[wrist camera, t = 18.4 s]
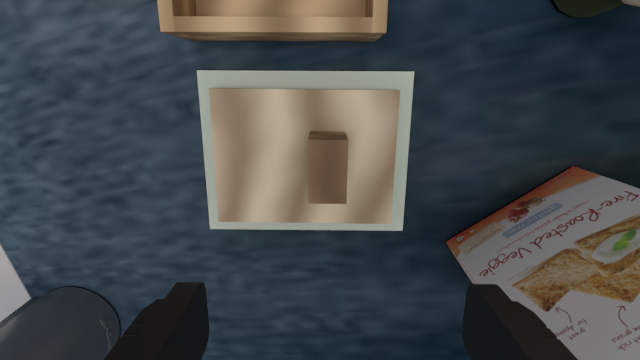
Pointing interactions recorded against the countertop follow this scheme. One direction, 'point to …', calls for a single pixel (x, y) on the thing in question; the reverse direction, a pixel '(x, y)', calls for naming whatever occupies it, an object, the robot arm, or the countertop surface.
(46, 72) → the countertop surface
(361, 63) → the countertop surface
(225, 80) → the mat
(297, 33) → the wooden box
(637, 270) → the cracker box
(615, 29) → the countertop surface
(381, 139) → the lid
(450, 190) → the countertop surface
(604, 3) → the character mug
